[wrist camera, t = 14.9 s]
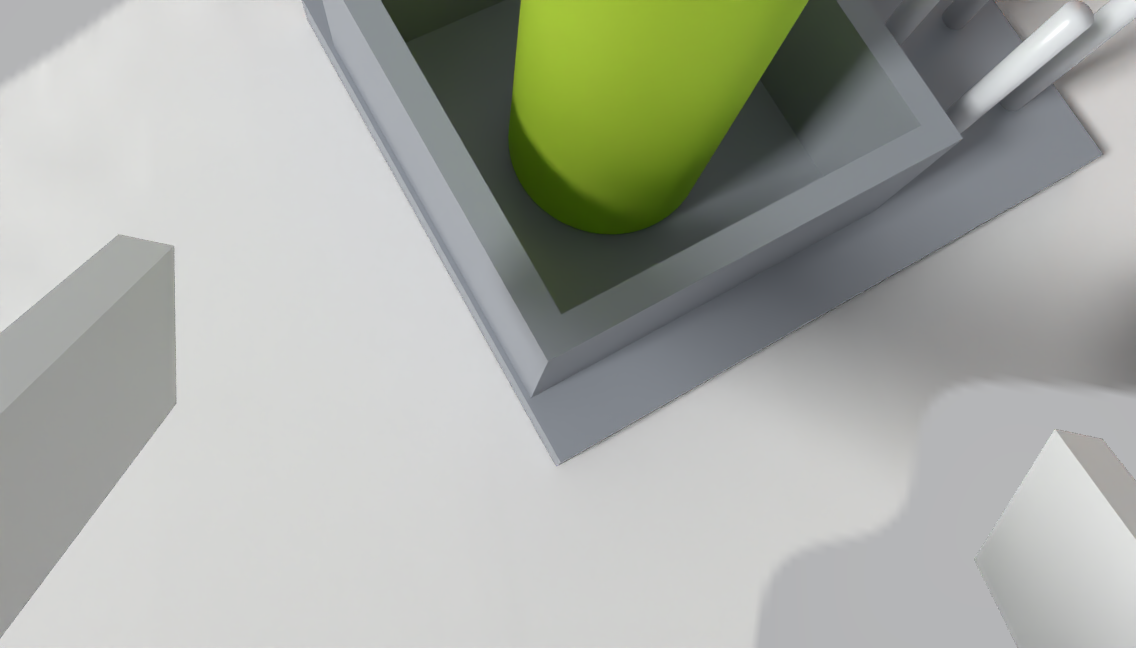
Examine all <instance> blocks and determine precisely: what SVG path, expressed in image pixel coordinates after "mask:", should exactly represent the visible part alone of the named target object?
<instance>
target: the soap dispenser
mask: <svg viewBox="0 0 1136 648" xmlns="http://www.w3.org/2000/svg"><path fill="white" fill-rule="evenodd" d="M808 1H809V0H521V5H520V15H519V26H518V37H517V48H516V58H515V69H514V80H513V90H512V101H511V112H510V122H509V134H508V143H509V152H510V158H511V162H512V165H513V168H514V171H515V173H516V175H517V177H518V179H519V181H520V183H521V185H522V186H523V188H524V189H525V191H526V192H527V194H528V195H529V196H530V197H531V198H532V200H533V201H534V202H535V203H536V204H537V205H538V206H539V207H541V208H542V209H543V210H544V211H545V212H547V213H548V214H549V215H551V216H552V217H554V218H555V219H557V220H559V221H561V222H562V223H564V224H567V225H569V226H571V227H574V228H576V229H579V230H583V231H587V232H592V233H598V234H624V233H630V232H635V231H638V230H642V229H645V228H647V227H650V226H652V225H654V224H656V223H658V222H660V221H661V220H663V219H664V218H666V217H667V216H669V215H670V214H671V213H672V212H674V211H675V210H676V209H677V208H678V207H679V206H680V205H681V203H682V202H683V201H684V200H685V199H686V197H687V196H688V194H689V193H690V191H691V190H692V188H693V186H694V185H695V183H696V181H697V180H698V178H699V177H700V175H701V173H702V172H703V170H704V169H705V167H706V165H707V164H708V162H709V161H710V159H711V157H712V156H713V154H714V152H715V151H716V149H717V148H718V146H719V144H720V143H721V141H722V140H723V138H724V136H725V135H726V133H727V131H728V130H729V128H730V127H731V125H732V123H733V122H734V120H735V119H736V117H737V115H738V114H739V112H740V111H741V109H742V107H743V106H744V104H745V102H746V101H747V99H748V98H749V96H750V94H751V93H752V91H753V90H754V88H755V86H756V85H757V83H758V81H759V80H760V78H761V77H762V75H763V73H764V72H765V70H766V69H767V67H768V65H769V64H770V62H771V61H772V59H773V57H774V56H775V54H776V52H777V51H778V49H779V48H780V46H781V44H782V43H783V41H784V40H785V38H786V36H787V35H788V33H789V31H790V30H791V28H792V27H793V25H794V23H795V22H796V20H797V19H798V17H799V15H800V14H801V12H802V11H803V9H804V7H805V6H806V4H807V2H808Z"/></svg>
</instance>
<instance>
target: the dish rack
mask: <svg viewBox="0 0 1136 648" xmlns="http://www.w3.org/2000/svg"><path fill="white" fill-rule="evenodd" d="M302 3H303V7H304V10H305V13H306V17H307V20H308V22H309V23H310V25H311V27H312V29H313V31H314V32H315V34H316V36H317V38H318V40H319V41H320V43H321V45H322V47H323V49H324V50H325V52H326V54H327V56H328V58H329V59H330V61H331V63H332V65H333V67H334V68H335V70H336V72H337V74H338V76H339V77H340V79H341V81H342V83H343V84H344V86H345V88H346V90H347V92H348V93H349V95H350V97H351V99H352V101H353V102H354V104H355V106H356V108H357V110H358V111H359V113H360V115H361V117H362V119H363V120H364V122H365V124H366V126H367V128H368V129H369V131H370V133H371V135H372V137H373V138H374V140H375V142H376V144H377V146H378V147H379V149H380V151H381V153H382V155H383V156H384V158H385V160H386V162H387V163H388V165H389V167H390V169H391V171H392V172H393V174H394V176H395V178H396V180H397V181H398V183H399V185H400V187H401V189H402V190H403V192H404V194H405V196H406V198H407V199H408V201H409V203H410V205H411V207H412V208H413V210H414V212H415V214H416V216H417V217H418V219H419V221H420V223H421V225H422V226H423V228H424V230H425V232H426V234H427V235H428V237H429V239H430V241H431V242H432V244H433V246H434V248H435V250H436V251H437V253H438V255H439V257H440V259H441V260H442V262H443V264H444V266H445V268H446V269H447V271H448V273H449V275H450V277H451V278H452V280H453V282H454V284H455V286H456V287H457V289H458V291H459V293H460V295H461V296H462V298H463V300H464V302H465V304H466V305H467V307H468V309H469V311H470V313H471V314H472V316H473V318H474V320H475V322H476V323H477V325H478V327H479V329H480V330H481V332H482V334H483V336H484V338H485V339H486V341H487V343H488V345H489V347H490V348H491V350H492V352H493V354H494V356H495V357H496V359H497V361H498V363H499V365H500V366H501V368H502V370H503V372H504V374H505V375H506V377H507V379H508V381H509V383H510V384H511V386H512V388H513V390H514V392H515V393H516V395H517V397H518V399H519V401H520V402H521V404H522V406H523V408H524V409H525V411H526V413H527V415H528V417H529V418H530V420H531V422H532V424H533V426H534V427H535V429H536V431H537V433H538V435H539V436H540V438H541V440H542V442H543V444H544V445H545V447H546V449H547V451H548V453H549V454H550V456H551V458H552V460H553V462H554V463H555V465H556V466H558V465H560V464H561V463H563V462H565V461H567V460H568V459H570V458H572V457H574V456H575V455H577V454H579V453H581V452H582V451H584V450H586V449H588V448H589V447H591V446H593V445H595V444H597V443H598V442H600V441H602V440H604V439H605V438H607V437H609V436H611V435H612V434H614V433H616V432H618V431H619V430H621V429H623V428H625V427H626V426H628V425H630V424H632V423H633V422H635V421H637V420H639V419H640V418H642V417H644V416H646V415H648V414H649V413H651V412H653V411H655V410H656V409H658V408H660V407H662V406H663V405H665V404H667V403H669V402H670V401H672V400H674V399H676V398H677V397H679V396H681V395H683V394H684V393H686V392H688V391H690V390H691V389H693V388H695V387H697V386H698V385H700V384H702V383H704V382H706V381H707V380H709V379H711V378H713V377H714V376H716V375H718V374H720V373H721V372H723V371H725V370H727V369H728V368H730V367H732V366H734V365H735V364H737V363H739V362H741V361H742V360H744V359H746V358H748V357H749V356H751V355H753V354H755V353H756V352H758V351H760V350H762V349H764V348H765V347H767V346H769V345H771V344H772V343H774V342H776V341H778V340H779V339H781V338H783V337H785V336H786V335H788V334H790V333H792V332H793V331H795V330H797V329H799V328H800V327H802V326H804V325H806V324H807V323H809V322H811V321H813V320H815V319H816V318H818V317H820V316H822V315H823V314H825V313H827V312H829V311H830V310H832V309H834V308H836V307H837V306H839V305H841V304H843V303H844V302H846V301H848V300H850V299H851V298H853V297H855V296H857V295H858V294H860V293H862V292H864V291H865V290H867V289H869V288H871V287H873V286H874V285H876V284H878V283H880V282H881V281H883V280H885V279H887V278H888V277H890V276H892V275H894V274H895V273H897V272H899V271H901V270H902V269H904V268H906V267H908V266H909V265H911V264H913V263H915V262H916V261H918V260H920V259H922V258H924V257H925V256H927V255H929V254H931V253H932V252H934V251H936V250H938V249H939V248H941V247H943V246H945V245H946V244H948V243H950V242H952V241H953V240H955V239H957V238H959V237H960V236H962V235H964V234H966V233H967V232H969V231H971V230H973V229H974V228H976V227H978V226H980V225H982V224H983V223H985V222H987V221H989V220H990V219H992V218H994V217H996V216H997V215H999V214H1001V213H1003V212H1004V211H1006V210H1008V209H1010V208H1011V207H1013V206H1015V205H1017V204H1018V203H1020V202H1022V201H1024V200H1025V199H1027V198H1029V197H1031V196H1032V195H1034V194H1036V193H1038V192H1040V191H1041V190H1043V189H1045V188H1047V187H1048V186H1050V185H1052V184H1054V183H1055V182H1057V181H1059V180H1061V179H1062V178H1064V177H1066V176H1068V175H1069V174H1071V173H1073V172H1075V171H1076V170H1078V169H1080V168H1081V167H1083V166H1085V165H1086V164H1088V163H1090V162H1091V161H1093V160H1095V159H1096V158H1098V157H1099V156H1101V155H1103V154H1102V152H1101V151H1100V149H1099V148H1098V147H1097V145H1096V144H1095V142H1094V141H1093V140H1092V138H1091V137H1090V135H1089V134H1088V133H1087V131H1086V130H1085V128H1084V127H1083V126H1082V124H1081V123H1080V121H1079V120H1078V119H1077V117H1076V116H1075V114H1074V113H1073V112H1072V110H1071V109H1070V107H1069V106H1068V105H1067V103H1066V102H1065V100H1064V99H1063V98H1062V96H1061V95H1060V93H1059V92H1058V91H1057V89H1056V88H1055V86H1054V85H1053V84H1052V83H1053V82H1055V81H1056V80H1057V79H1058V78H1060V77H1061V76H1062V75H1064V74H1065V73H1066V72H1067V71H1069V70H1070V69H1071V68H1072V67H1074V66H1075V65H1076V64H1078V63H1079V62H1080V61H1081V60H1083V59H1084V58H1085V57H1087V56H1088V55H1089V54H1090V53H1092V52H1093V51H1094V50H1095V49H1097V48H1098V47H1099V46H1101V45H1102V44H1103V43H1104V42H1106V41H1107V40H1108V39H1110V38H1111V37H1112V36H1113V35H1115V34H1116V33H1117V32H1118V31H1120V30H1121V29H1122V28H1124V27H1125V26H1126V25H1127V24H1129V23H1130V22H1131V21H1133V20H1134V19H1135V18H1136V0H1110V1H1109V2H1108V3H1107V4H1105V5H1104V6H1103V7H1102V8H1101V9H1099V10H1098V11H1097V12H1096V13H1095V14H1093V12H1092V10H1091V9H1090V7H1089V6H1088V5H1086V4H1085V3H1083V2H1081V1H1078V0H1072V1H1069V2H1067V3H1066V4H1065V5H1064V6H1063V7H1061V8H1060V9H1059V10H1058V11H1057V12H1056V13H1055V14H1054V15H1052V16H1051V17H1050V18H1049V19H1048V20H1047V21H1046V22H1045V23H1044V24H1042V25H1041V26H1040V27H1039V28H1038V29H1037V30H1036V31H1035V32H1034V33H1032V34H1031V35H1030V36H1029V37H1028V38H1027V39H1026V40H1025V41H1024V42H1022V40H1021V39H1020V37H1019V36H1018V35H1017V33H1016V32H1015V30H1014V29H1013V28H1012V26H1011V25H1010V23H1009V22H1008V21H1007V19H1006V18H1005V16H1004V15H1003V14H1002V12H1001V11H1000V9H999V8H998V7H997V5H996V4H995V2H994V1H993V0H809V1H808V2H807V4H806V6H805V7H804V9H803V11H802V12H801V14H800V15H799V17H798V19H797V20H796V22H795V23H794V25H793V27H792V28H791V30H790V31H789V33H788V35H787V36H786V38H785V40H784V41H783V43H782V44H781V46H780V48H779V49H778V51H777V52H776V54H775V56H774V57H773V59H772V61H771V62H770V64H769V65H768V67H767V69H766V70H765V72H764V73H763V75H762V77H761V78H760V80H759V81H758V83H757V85H756V86H755V88H754V90H753V91H752V93H751V94H750V96H749V98H748V99H747V101H746V102H745V104H744V106H743V107H742V109H741V111H740V112H739V114H738V115H737V117H736V119H735V120H734V122H733V123H732V125H731V127H730V128H729V130H728V131H727V133H726V135H725V136H724V138H723V140H722V141H721V143H720V144H719V146H718V148H717V149H716V151H715V152H714V154H713V156H712V157H711V159H710V161H709V162H708V164H707V165H706V167H705V169H704V170H703V172H702V173H701V175H700V177H699V178H698V180H697V181H696V183H695V185H694V186H693V188H692V190H691V191H690V193H689V194H688V196H687V197H686V199H685V200H684V201H683V202H682V203H681V205H680V206H679V207H678V208H677V209H676V210H675V211H674V212H672V213H671V214H670V215H669V216H667V217H666V218H664V219H663V220H661V221H660V222H658V223H656V224H654V225H652V226H650V227H647V228H645V229H642V230H638V231H635V232H630V233H624V234H598V233H592V232H587V231H583V230H579V229H576V228H574V227H571V226H569V225H567V224H564V223H562V222H561V221H559V220H557V219H555V218H554V217H552V216H551V215H549V214H548V213H547V212H545V211H544V210H543V209H542V208H541V207H539V206H538V205H537V204H536V203H535V202H534V201H533V200H532V198H531V197H530V196H529V195H528V194H527V192H526V191H525V189H524V188H523V186H522V185H521V183H520V181H519V179H518V177H517V175H516V173H515V171H514V168H513V165H512V162H511V158H510V152H509V143H508V134H509V122H510V112H511V101H512V90H513V80H514V69H515V58H516V48H517V37H518V26H519V15H520V5H521V0H302Z"/></svg>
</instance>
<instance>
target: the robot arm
mask: <svg viewBox="0 0 1136 648" xmlns="http://www.w3.org/2000/svg"><path fill="white" fill-rule="evenodd" d="M175 404H176V342H175V272H174V246H172V245H167V244H163V243H158V242H153V241H148V240H143V239H139V238H134V237H129V236H124V235H117V236H116V237H115V238H114V239H113V240H111V241H110V242H109V243H108V244H107V245H105V246H104V247H103V248H102V249H101V250H99V251H98V252H97V253H96V254H95V255H93V256H92V257H91V258H90V259H89V260H87V261H86V262H85V263H84V264H83V265H81V266H80V267H79V268H78V269H77V270H75V271H74V272H73V273H72V274H71V275H69V276H68V277H67V278H66V279H65V280H63V281H62V282H61V283H60V284H59V285H57V286H56V287H55V288H54V289H53V290H51V291H50V292H49V293H48V294H47V295H46V296H44V297H43V298H42V299H41V300H40V301H38V302H37V303H36V304H35V305H34V306H32V307H31V308H30V309H29V310H28V311H26V312H25V313H24V314H23V315H22V316H20V317H19V318H18V319H17V320H16V321H14V322H13V323H12V324H11V325H10V326H8V327H7V328H6V329H5V330H4V331H2V332H1V333H0V638H1V637H2V635H3V634H4V633H5V631H6V630H7V629H8V627H9V626H10V625H11V623H12V622H13V621H14V619H15V618H16V617H17V615H18V614H19V613H20V611H21V610H22V609H23V607H24V606H25V605H26V603H27V602H28V601H29V599H30V598H31V597H32V595H33V594H34V593H35V591H36V590H37V589H38V587H39V586H40V585H41V583H42V582H43V581H44V579H45V578H46V577H47V575H48V574H49V573H50V571H51V570H52V569H53V567H54V566H55V565H56V563H57V562H58V561H59V559H60V558H61V557H62V555H63V554H64V553H65V551H66V550H67V549H68V547H69V546H70V545H71V543H72V542H73V541H74V539H75V538H76V537H77V535H78V534H79V533H80V531H81V530H82V529H83V527H84V526H85V525H86V523H87V522H88V521H89V519H90V518H91V517H92V515H93V514H94V513H95V511H96V510H97V509H98V507H99V506H100V505H101V503H102V502H103V501H104V499H105V498H106V497H107V495H108V494H109V493H110V491H111V490H112V489H113V487H114V486H115V485H116V483H117V482H118V481H119V479H120V478H121V477H122V475H123V474H124V473H125V471H126V470H127V469H128V467H129V466H130V465H131V463H132V462H133V461H134V459H135V458H136V457H137V455H138V454H139V453H140V451H141V450H142V449H143V447H144V446H145V445H146V443H147V442H148V441H149V439H150V438H151V437H152V435H153V434H154V432H155V431H156V430H157V428H158V427H159V426H160V424H161V423H162V422H163V420H164V419H165V418H166V416H167V415H168V414H169V412H170V411H171V410H172V408H173V407H174V406H175ZM974 560H975V563H976V564H977V567H978V568H979V571H980V573H981V575H982V577H983V579H984V581H985V583H986V585H987V587H988V589H989V591H990V593H991V595H992V597H993V599H994V601H995V603H996V605H997V607H998V609H999V611H1000V613H1001V615H1002V617H1003V619H1004V621H1005V623H1006V625H1007V627H1008V629H1009V631H1010V633H1011V635H1012V638H1013V639H1014V641H1015V644H1016V646H1017V648H1136V480H1135V479H1134V478H1133V477H1132V475H1131V474H1130V473H1129V472H1128V470H1127V469H1126V468H1125V467H1124V465H1123V464H1122V463H1121V462H1120V460H1119V459H1118V458H1117V457H1116V455H1115V454H1114V453H1113V452H1112V450H1111V449H1110V448H1109V447H1108V445H1107V444H1106V443H1105V442H1104V440H1103V439H1101V438H1095V437H1091V436H1086V435H1081V434H1076V433H1071V432H1067V431H1062V430H1057V429H1054V431H1053V433H1052V434H1051V436H1050V437H1049V439H1048V441H1047V442H1046V444H1045V446H1044V447H1043V449H1042V450H1041V452H1040V454H1039V455H1038V457H1037V459H1036V460H1035V462H1034V463H1033V465H1032V466H1031V468H1030V470H1029V471H1028V473H1027V475H1026V476H1025V478H1024V479H1023V481H1022V483H1021V484H1020V486H1019V488H1018V489H1017V491H1016V492H1015V494H1014V496H1013V497H1012V499H1011V501H1010V502H1009V504H1008V505H1007V507H1006V508H1005V510H1004V512H1003V514H1002V515H1001V517H1000V518H999V520H998V522H997V523H996V525H995V526H994V528H993V529H992V531H991V533H990V534H989V536H988V537H987V539H986V541H985V542H984V544H983V546H982V547H981V549H980V550H979V552H978V554H977V555H976V557H975V559H974Z"/></svg>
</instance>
